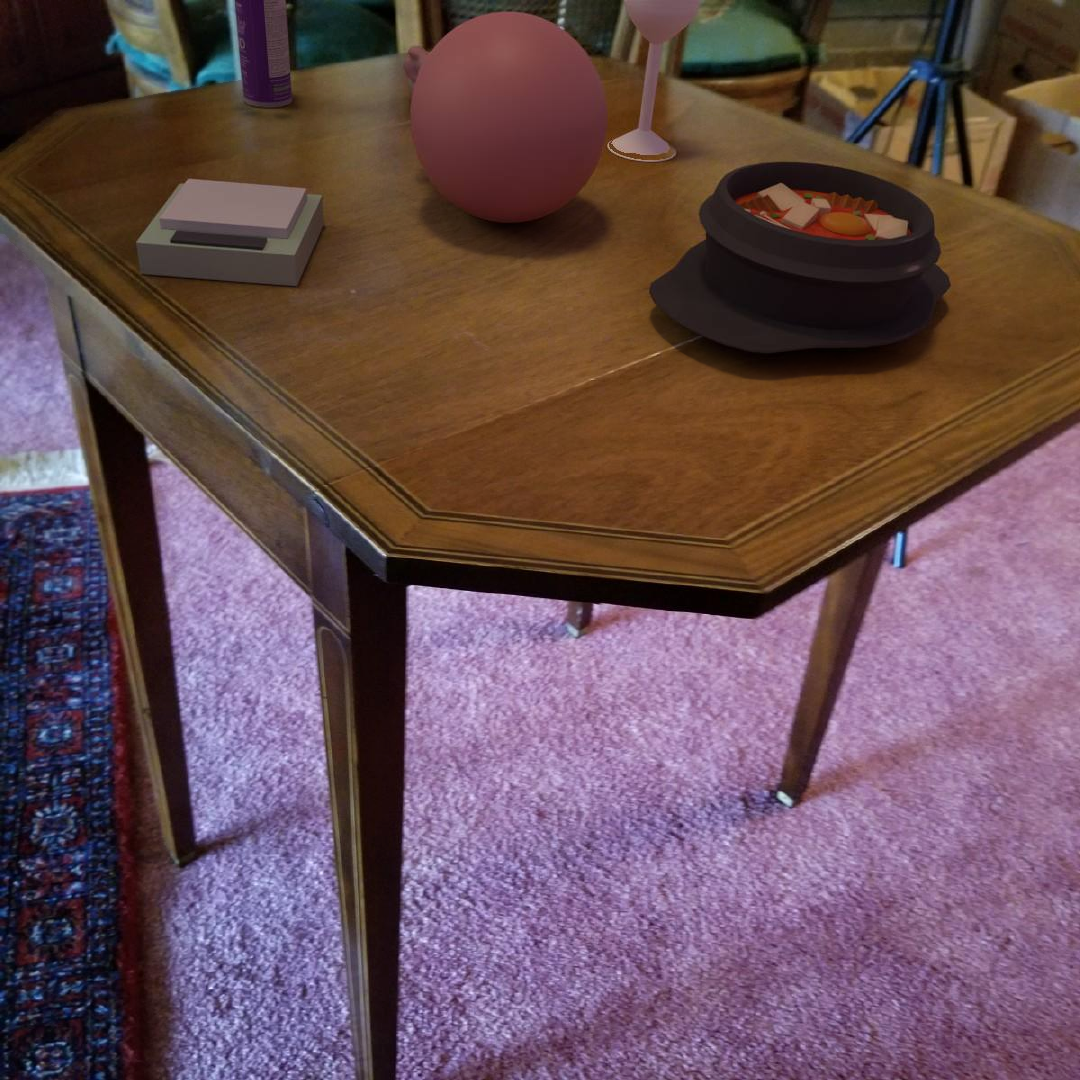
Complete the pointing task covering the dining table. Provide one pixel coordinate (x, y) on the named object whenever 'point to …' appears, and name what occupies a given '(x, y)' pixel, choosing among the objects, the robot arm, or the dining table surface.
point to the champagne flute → (653, 67)
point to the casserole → (807, 262)
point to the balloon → (507, 116)
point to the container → (264, 52)
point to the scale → (233, 233)
